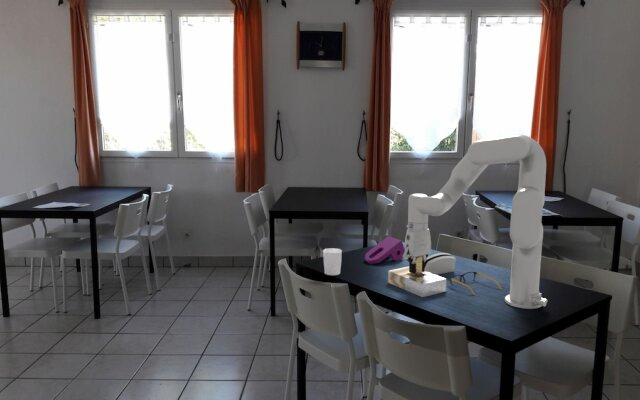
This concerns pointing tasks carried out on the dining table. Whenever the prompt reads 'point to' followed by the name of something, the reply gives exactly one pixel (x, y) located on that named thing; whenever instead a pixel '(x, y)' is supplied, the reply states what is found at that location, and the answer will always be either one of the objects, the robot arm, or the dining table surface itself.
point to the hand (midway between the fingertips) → (416, 271)
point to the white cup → (332, 261)
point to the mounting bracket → (386, 251)
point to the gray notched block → (425, 284)
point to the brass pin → (418, 267)
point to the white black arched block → (440, 263)
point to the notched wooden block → (399, 276)
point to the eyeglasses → (472, 280)
